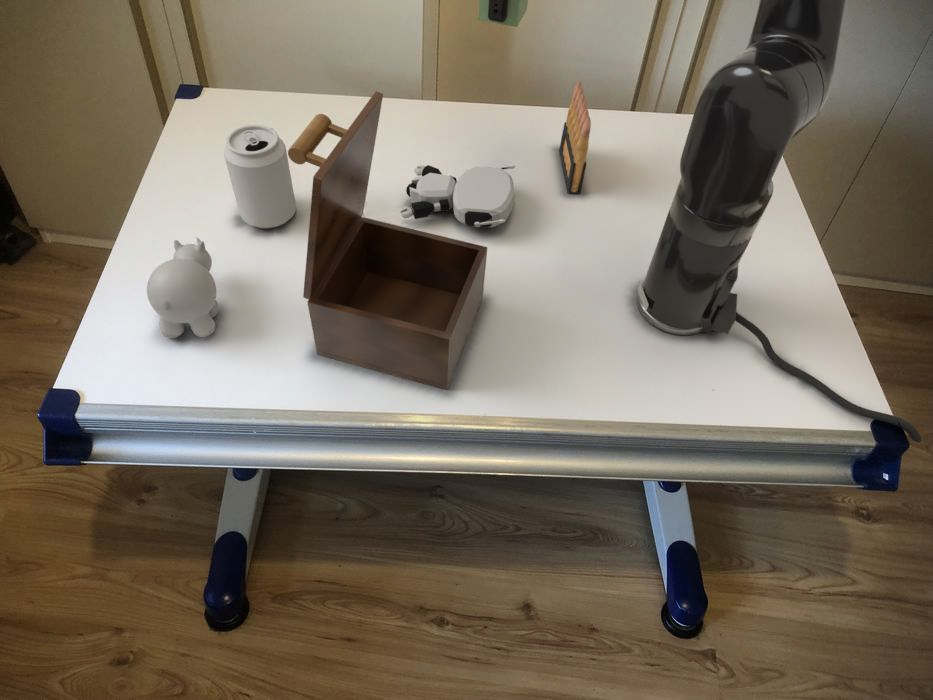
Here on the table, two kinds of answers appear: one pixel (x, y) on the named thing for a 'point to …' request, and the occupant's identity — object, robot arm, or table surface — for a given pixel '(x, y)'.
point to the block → (514, 13)
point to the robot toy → (463, 195)
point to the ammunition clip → (575, 141)
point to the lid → (336, 185)
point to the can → (260, 176)
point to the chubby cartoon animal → (184, 291)
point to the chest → (399, 302)
